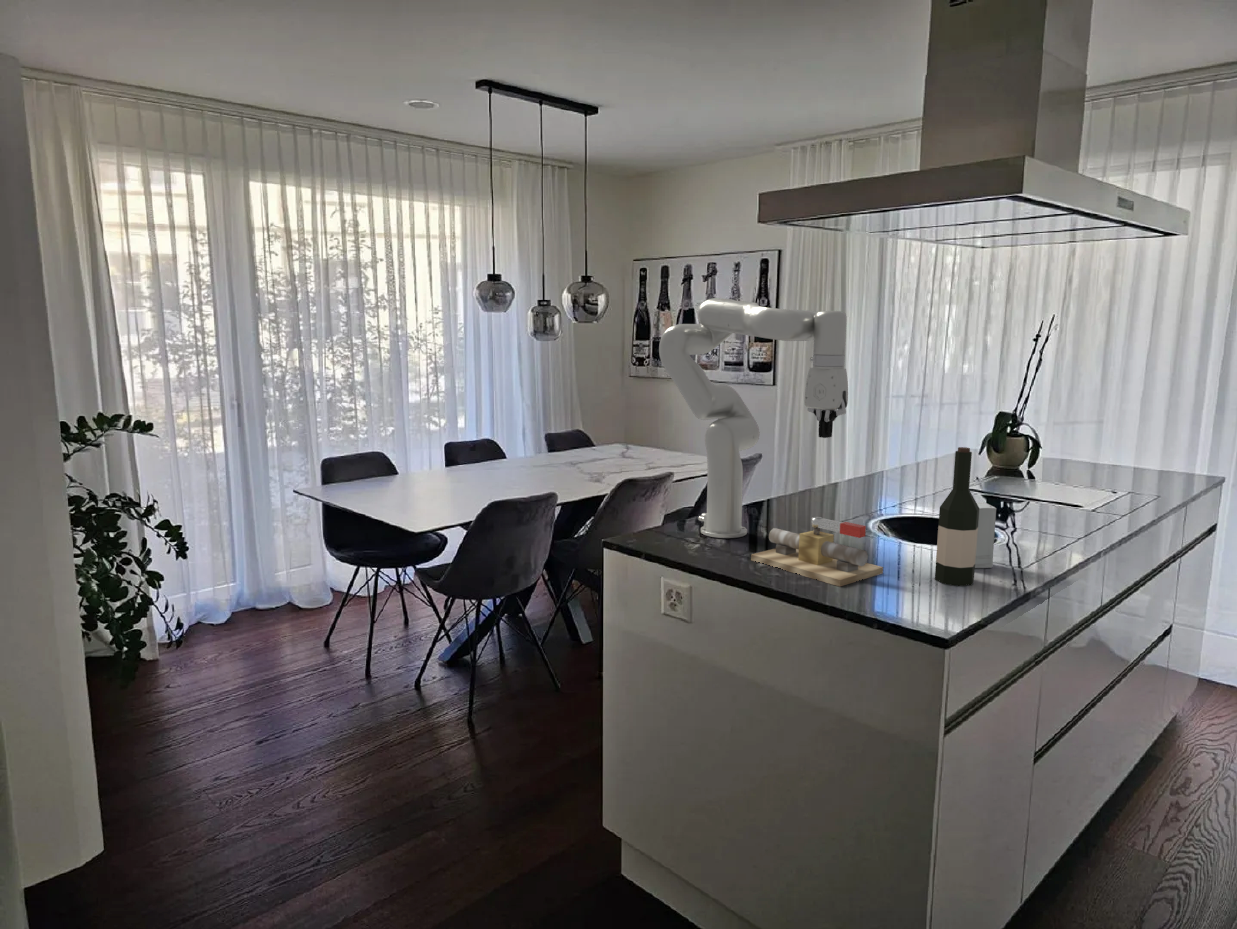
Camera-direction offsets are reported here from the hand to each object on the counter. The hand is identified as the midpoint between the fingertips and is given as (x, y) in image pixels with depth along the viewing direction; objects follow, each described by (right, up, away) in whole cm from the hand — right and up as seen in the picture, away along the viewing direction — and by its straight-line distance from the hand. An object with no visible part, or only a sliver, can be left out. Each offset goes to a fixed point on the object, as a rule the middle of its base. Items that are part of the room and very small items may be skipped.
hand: (825, 437), depth 205 cm
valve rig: (-4, -31, -9) cm, 32 cm away
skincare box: (+33, -31, -7) cm, 46 cm away
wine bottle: (+24, -33, -19) cm, 45 cm away
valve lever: (-1, -22, -14) cm, 26 cm away
